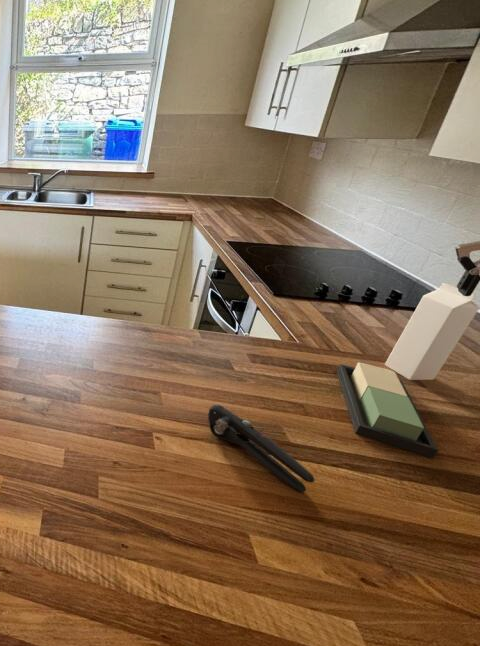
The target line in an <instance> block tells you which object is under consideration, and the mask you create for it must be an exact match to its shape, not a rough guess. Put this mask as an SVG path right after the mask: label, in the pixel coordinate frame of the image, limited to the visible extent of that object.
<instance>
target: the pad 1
mask: <svg viewBox="0 0 480 646" xmlns="http://www.w3.org/2000/svg"><path fill="white" fill-rule="evenodd" d="M354 368H355V370H354V371H353V373H352V375H351V378H352V381H353V383H354V386H355V389H356V392H357V395H358V398H359V401H361V399H362V397H363V396H364V394H365V392H366V390H367V388H368V387H373V388H376V389H380V390H383V391H387V392H391V393H394V394H398V395H401V396H405V397H407V395H406V393H405V391H404V389H403V387H402V385H401V383H400V381H399V380H400V379H399V377H398V375H397V372H396V371H394V370H392V369H387V368H383V367H380V366H376V365H372V364H368V363H363V362H361V361H358V362H357V364H356V366H355V367H354Z"/></svg>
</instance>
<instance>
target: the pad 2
mask: <svg viewBox="0 0 480 646" xmlns="http://www.w3.org/2000/svg"><path fill="white" fill-rule="evenodd" d="M360 402H361V405H362V408H363V411H364V414H365V417H366V420H367V423H368V426H370V427H373V428H376V429H379V430H382V431H386V432H389V433H392V434H395V435H398V436H402V437H405V438H408V439H411V440H414V441H416V440H417V438H418V437H419V435H420V434H421V432H422V431H423V429H424V427H423V425H422V423H421V421H420V419H419V417H418V415H417V413H416V411H415V409H414V407H413V405H412V403H411V401H410V399H409V398H408V397H405V396H401V395H398V394H394V393H391V392H387V391H383V390H380V389H376V388H373V387H368V388H367V390H366V392H365V394H364V396H363V397H362V399H361V401H360Z"/></svg>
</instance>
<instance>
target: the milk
mask: <svg viewBox="0 0 480 646" xmlns="http://www.w3.org/2000/svg"><path fill="white" fill-rule="evenodd" d="M475 296H476V294H475V293H474V292H473V293H472V294H471V296H463V295H462V294H461V293H460V292H459V291H458V288H457V286H455V285H453V284H449V283H446V282H442V283H441V285H440V287H439V288H438V289H434V290H432V291H430V292H428V293H426V294H424V295H422V297H421V299H420V301H419V302H418V304H417V306H416V308H415V310H414V312H413V313H412V315H411V317H410V318H409V321H408V322H407V324H406V325H405V328H404V329H403V330H402V333H401V334H400V336H399V338H398V340H397V342H396V343H395V345H394V347H393V349H392V351H391V352H390V354H389V356H388V357H387V359H386V361H385V363H384V366H386V367H388V368H389V369H390V370H392V371H395V373H396V374H399V375H400V376H402V377H404V378H405V379H407V380H409V381H432V380H435V378H437V376H438V374H439V372H440V371H441V369H442V368H443V366H444V364H445V363H446V362H447V360H448V358H449V357H450V355H451V354H452V352H453V350H455V347H456V346H457V344H458V343H459V341H460V339H461V338H462V337H463V335H464V333H465V332H466V330H467V328H468V327H469V326H470V324H471V322H472V321H473V319H474V318H475V316H476V314H477V313H478V312H479V311H480V306H479V305H477V304H476V303H475V302H474V301H473V300H474V298H475Z"/></svg>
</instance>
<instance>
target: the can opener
mask: <svg viewBox="0 0 480 646" xmlns="http://www.w3.org/2000/svg"><path fill="white" fill-rule="evenodd" d="M207 413H208V414H207V418H208V423H209V429H210V432H211V433H212V435H213V436H214V437H216V438H218V439H220V440H223V441H226V442H230V443H234V444H236V445H238V446H239V447H241V448H243V449H244V450H245V451H246V452H248V453H249V454H250V455H251V456H252V457H254V459H256V460H257V461H258V462H259V463H260V464H261V465H263V467H265V468H266V469H267V470H268V471H269V472H271V474H272V475H274V476H275V477H277V478H278V479H279V480H281V481H282V482H283V483H285V484H286V485H288V486H289V487H291V488H293V490H295V491H297V492H302V493H305V492H306V490H307V487H306V485H305V484H304V483H303V482H302V481H301V480H303V481H305V482H308V483H314V482H315V478H314V476H313V474H312V473H311V472H310V471H309V470H308V469H307V468H306V467H305V466H303V465H302V464H301V463H300V462H299V461H298V460H297V459H295V458H294V457H293V456H291V454H289V453H288V452H287V451H285V450H284V449H283V448H282V447H280V446H279V445H278V444H277V443H276V442H275V441H273V440H272V439H270V438H269V437H268V436H267V435H265V434H264V433H262V432H261V431H260V430H259V429H257V428H256V427H254V426H252V422H251V421H249V420H246V419H245V420H244V419H243V418H241V417H240V416H238V415H237V414H236V413H233V412H232V411H230V410H229V409H227V408H225V407H224V406H222V405H220V404H213V405H212V406H210V407H209V410H208V412H207ZM278 461H279V462H278ZM283 465H284V466H285V467H286V468H285V467H284V466H283ZM288 469H289V470H290V471H289V470H288ZM291 471H292V472H293V473H294V474H295V475H296V476H298V477H299V478H301V480H300V479H298V477H296V476H295V475H294V474H293V473H292V472H291Z"/></svg>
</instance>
